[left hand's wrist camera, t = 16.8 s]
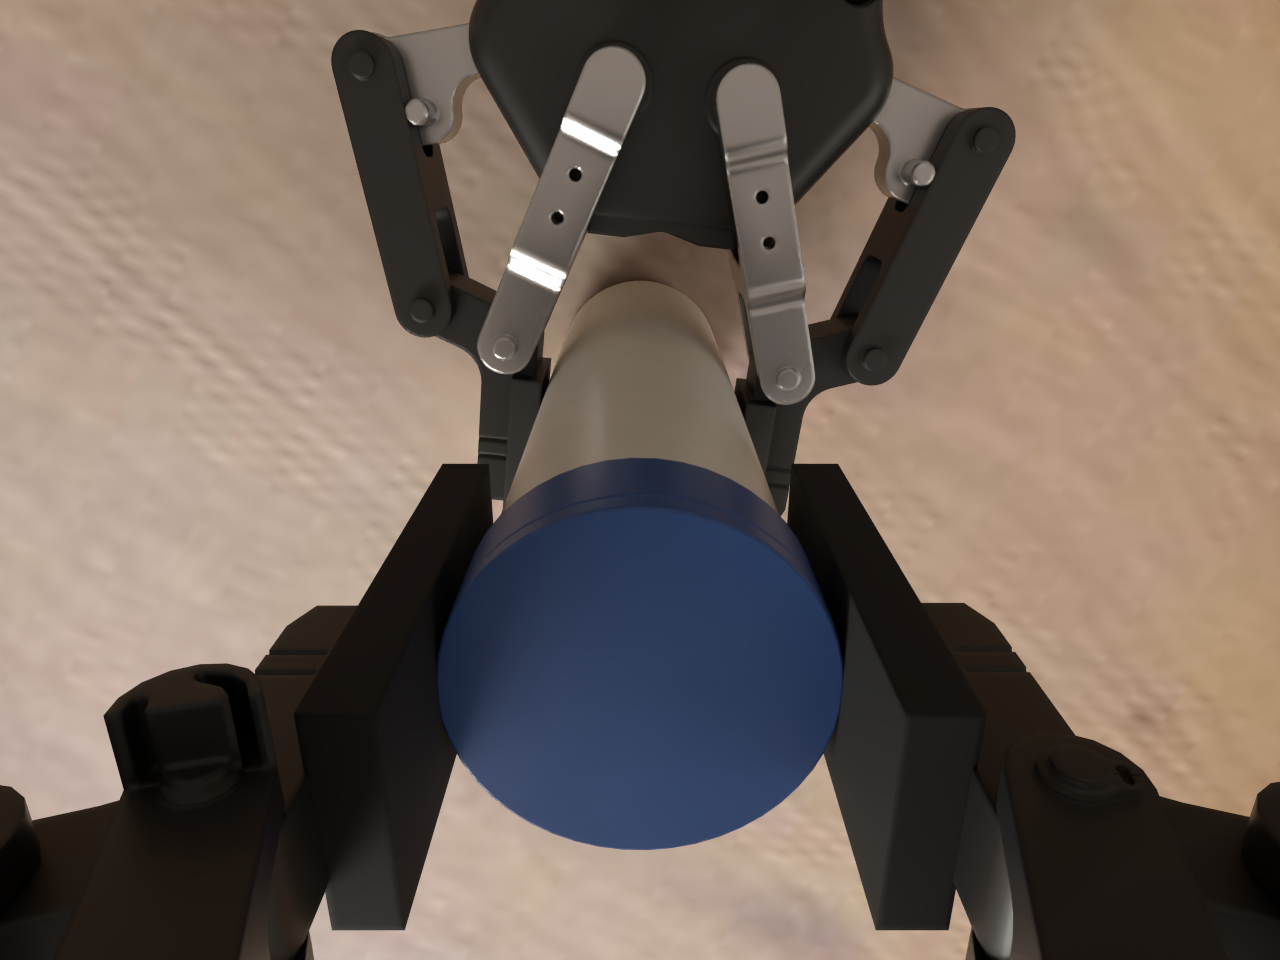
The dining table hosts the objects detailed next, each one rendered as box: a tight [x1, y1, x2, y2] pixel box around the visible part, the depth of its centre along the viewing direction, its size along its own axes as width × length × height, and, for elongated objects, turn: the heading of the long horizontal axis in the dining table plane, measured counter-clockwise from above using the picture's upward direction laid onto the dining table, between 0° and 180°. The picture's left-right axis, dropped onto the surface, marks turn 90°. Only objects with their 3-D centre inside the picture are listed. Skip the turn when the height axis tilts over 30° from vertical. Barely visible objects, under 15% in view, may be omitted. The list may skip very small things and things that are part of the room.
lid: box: [437, 458, 844, 850], centre depth 11 cm, size 5×5×2 cm
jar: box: [501, 281, 779, 515], centre depth 19 cm, size 5×5×16 cm
